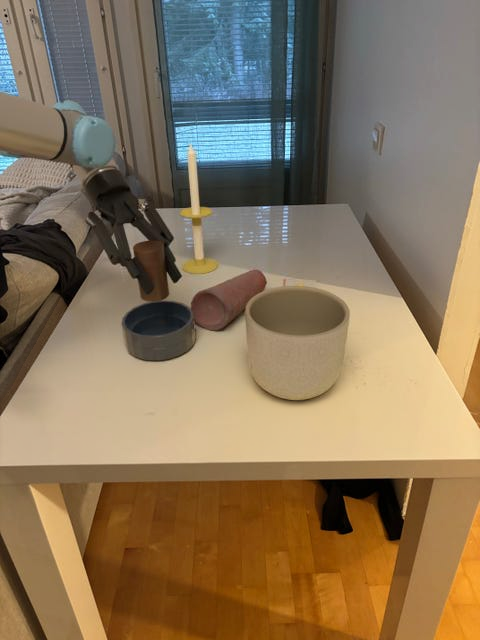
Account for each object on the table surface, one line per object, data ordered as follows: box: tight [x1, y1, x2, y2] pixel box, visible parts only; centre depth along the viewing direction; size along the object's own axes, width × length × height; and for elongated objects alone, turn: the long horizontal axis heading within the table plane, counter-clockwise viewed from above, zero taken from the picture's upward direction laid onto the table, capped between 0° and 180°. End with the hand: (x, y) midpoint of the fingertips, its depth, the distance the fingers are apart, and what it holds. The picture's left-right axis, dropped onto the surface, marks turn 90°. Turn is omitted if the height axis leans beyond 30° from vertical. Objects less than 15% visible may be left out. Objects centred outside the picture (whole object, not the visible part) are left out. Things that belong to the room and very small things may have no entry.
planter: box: [244, 285, 351, 401], centre depth 80 cm, size 17×17×15 cm
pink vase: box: [190, 269, 268, 331], centre depth 105 cm, size 21×9×9 cm, turn 152°
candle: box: [179, 141, 219, 275], centre depth 120 cm, size 10×10×32 cm
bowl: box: [121, 299, 196, 361], centre depth 95 cm, size 14×14×6 cm
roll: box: [132, 240, 170, 302], centre depth 87 cm, size 6×6×10 cm
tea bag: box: [282, 278, 317, 288], centre depth 100 cm, size 4×7×10 cm, turn 79°
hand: (164, 285), depth 85 cm, fingers closed on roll, 5 cm apart
